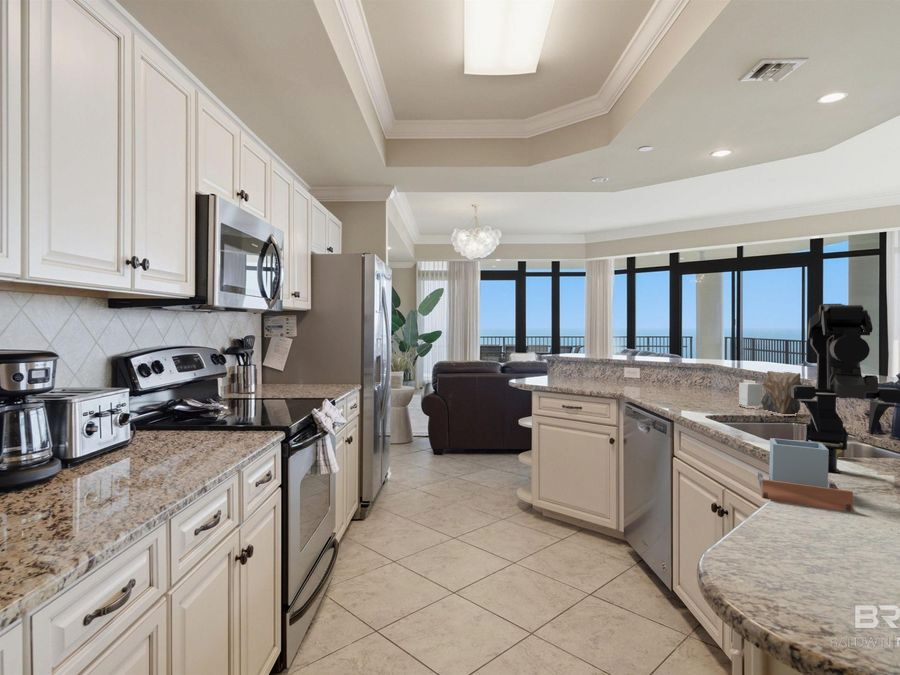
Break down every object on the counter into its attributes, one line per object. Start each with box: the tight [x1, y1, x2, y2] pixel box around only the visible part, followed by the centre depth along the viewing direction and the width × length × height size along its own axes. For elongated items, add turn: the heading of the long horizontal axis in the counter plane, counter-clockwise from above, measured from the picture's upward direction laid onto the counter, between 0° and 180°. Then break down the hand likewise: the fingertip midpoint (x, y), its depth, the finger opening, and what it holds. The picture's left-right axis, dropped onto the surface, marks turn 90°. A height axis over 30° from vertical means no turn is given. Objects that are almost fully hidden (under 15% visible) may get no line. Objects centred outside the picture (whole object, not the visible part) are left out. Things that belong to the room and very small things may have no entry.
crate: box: [768, 437, 829, 488], centre depth 112 cm, size 8×10×10 cm
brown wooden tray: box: [757, 471, 854, 512], centre depth 108 cm, size 18×15×5 cm
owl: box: [761, 370, 803, 414], centre depth 227 cm, size 13×13×20 cm
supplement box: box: [738, 382, 763, 406], centre depth 248 cm, size 7×7×13 cm
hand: (844, 432), depth 108 cm, fingers open, 9 cm apart
